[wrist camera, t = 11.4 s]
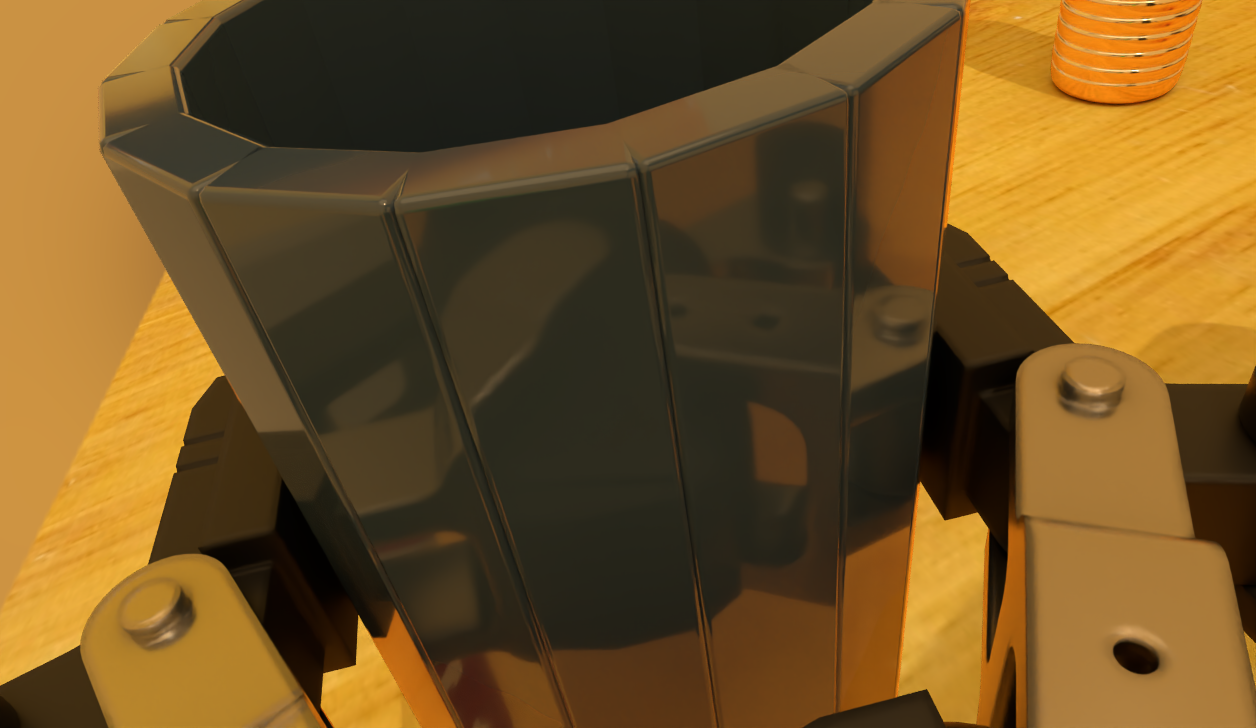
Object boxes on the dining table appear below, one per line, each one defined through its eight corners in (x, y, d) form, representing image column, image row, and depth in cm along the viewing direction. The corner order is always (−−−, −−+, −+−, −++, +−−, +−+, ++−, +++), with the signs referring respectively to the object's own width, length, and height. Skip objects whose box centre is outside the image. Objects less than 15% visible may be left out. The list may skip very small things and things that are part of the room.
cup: (743, 499, 17) (690, -154, 10) (988, 796, 12) (1205, -38, 5) (423, 654, 15) (93, -1, 8) (566, 1064, 11) (95, 361, 4)
